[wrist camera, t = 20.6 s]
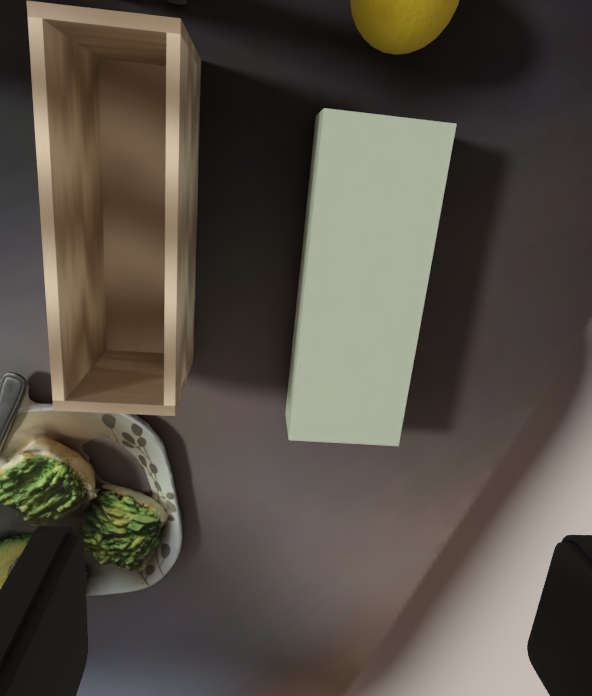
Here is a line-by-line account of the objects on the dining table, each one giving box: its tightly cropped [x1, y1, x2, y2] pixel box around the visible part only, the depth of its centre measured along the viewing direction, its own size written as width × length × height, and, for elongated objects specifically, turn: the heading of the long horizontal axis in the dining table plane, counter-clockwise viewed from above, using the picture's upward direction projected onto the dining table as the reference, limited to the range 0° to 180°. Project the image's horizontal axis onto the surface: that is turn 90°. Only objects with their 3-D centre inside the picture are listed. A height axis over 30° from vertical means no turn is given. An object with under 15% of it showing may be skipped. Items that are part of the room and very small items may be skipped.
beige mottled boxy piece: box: [27, 1, 201, 416], centre depth 30 cm, size 19×6×9 cm, turn 175°
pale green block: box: [285, 108, 457, 446], centre depth 34 cm, size 20×7×5 cm, turn 174°
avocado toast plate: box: [0, 372, 184, 596], centre depth 38 cm, size 19×18×5 cm
